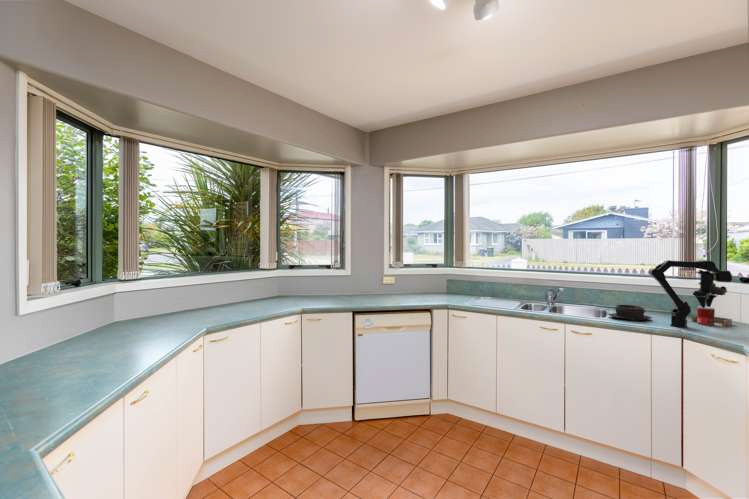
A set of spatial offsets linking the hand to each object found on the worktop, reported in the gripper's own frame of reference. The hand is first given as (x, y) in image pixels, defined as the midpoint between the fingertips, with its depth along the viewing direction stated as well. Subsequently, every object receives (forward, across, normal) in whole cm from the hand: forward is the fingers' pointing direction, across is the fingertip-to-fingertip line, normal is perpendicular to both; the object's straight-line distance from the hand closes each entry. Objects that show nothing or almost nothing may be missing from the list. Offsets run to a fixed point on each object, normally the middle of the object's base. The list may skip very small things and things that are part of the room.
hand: (706, 307), depth 209 cm
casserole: (+13, -12, +36) cm, 40 cm away
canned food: (+13, +14, +5) cm, 20 cm away
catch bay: (+13, +22, +5) cm, 26 cm away
